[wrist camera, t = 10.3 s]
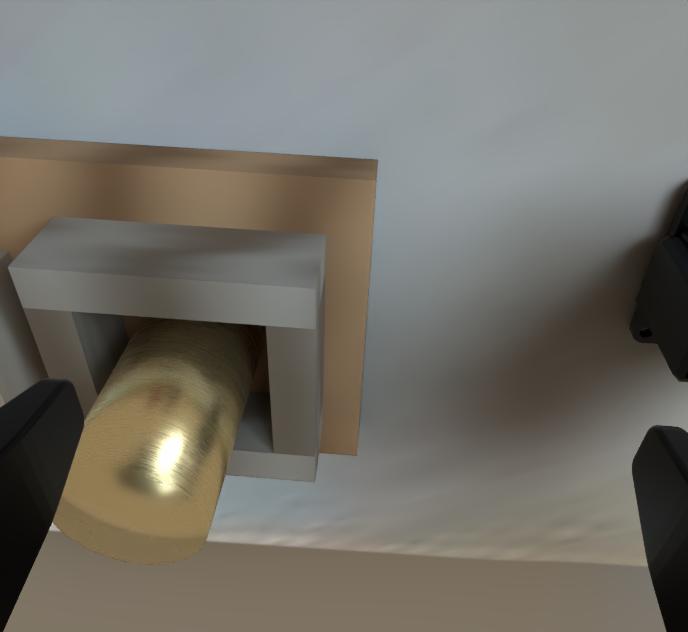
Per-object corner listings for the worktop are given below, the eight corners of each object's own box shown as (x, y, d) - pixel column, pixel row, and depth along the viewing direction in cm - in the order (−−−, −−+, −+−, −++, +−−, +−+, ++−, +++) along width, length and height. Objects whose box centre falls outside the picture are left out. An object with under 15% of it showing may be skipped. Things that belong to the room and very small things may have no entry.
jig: (377, 159, 20) (372, 231, 16) (358, 429, 28) (352, 516, 24) (-163, 126, 20) (-281, 187, 17) (-27, 398, 28) (-88, 478, 25)
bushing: (259, 287, 21) (196, 473, 15) (267, 379, 24) (216, 570, 18) (136, 279, 21) (21, 459, 15) (157, 371, 24) (68, 557, 18)
